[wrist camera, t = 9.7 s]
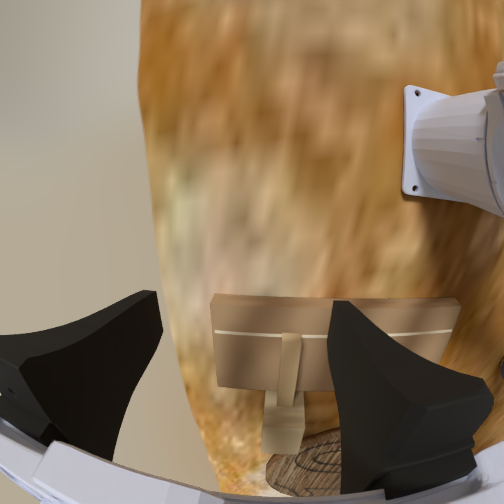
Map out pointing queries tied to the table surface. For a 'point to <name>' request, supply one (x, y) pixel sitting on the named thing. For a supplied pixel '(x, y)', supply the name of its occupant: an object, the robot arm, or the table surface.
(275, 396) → the beige block with handle
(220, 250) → the table surface
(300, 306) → the board
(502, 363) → the rubber mallet
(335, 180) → the table surface
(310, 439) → the trivet
